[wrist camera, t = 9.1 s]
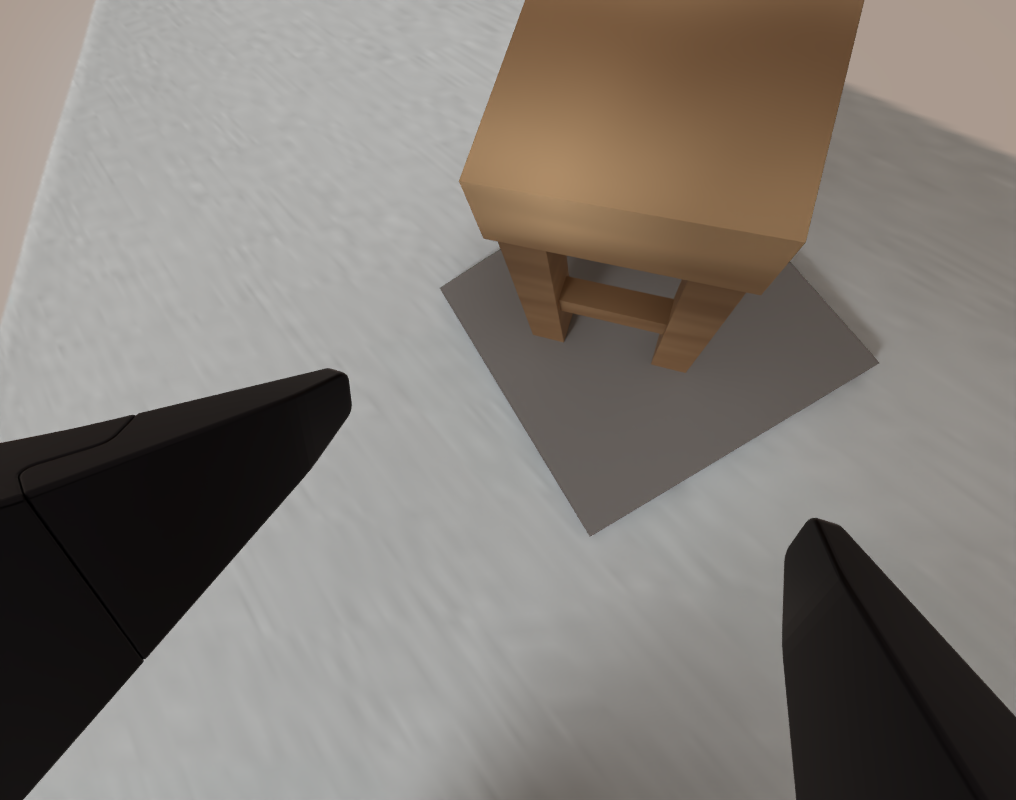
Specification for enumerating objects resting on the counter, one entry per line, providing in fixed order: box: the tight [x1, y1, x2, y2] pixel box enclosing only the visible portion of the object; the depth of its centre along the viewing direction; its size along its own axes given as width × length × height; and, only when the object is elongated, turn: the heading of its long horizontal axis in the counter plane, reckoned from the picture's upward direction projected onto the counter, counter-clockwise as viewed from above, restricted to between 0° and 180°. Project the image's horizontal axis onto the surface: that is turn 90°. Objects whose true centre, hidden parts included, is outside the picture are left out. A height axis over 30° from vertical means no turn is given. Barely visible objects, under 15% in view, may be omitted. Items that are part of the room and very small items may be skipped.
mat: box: [440, 249, 879, 536], centre depth 17 cm, size 11×11×1 cm
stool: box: [459, 0, 864, 373], centre depth 13 cm, size 6×6×9 cm
